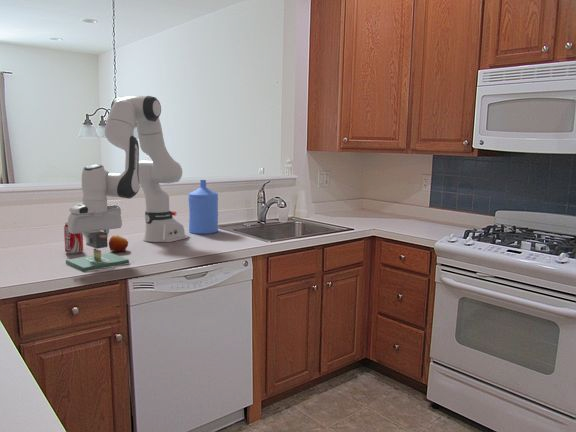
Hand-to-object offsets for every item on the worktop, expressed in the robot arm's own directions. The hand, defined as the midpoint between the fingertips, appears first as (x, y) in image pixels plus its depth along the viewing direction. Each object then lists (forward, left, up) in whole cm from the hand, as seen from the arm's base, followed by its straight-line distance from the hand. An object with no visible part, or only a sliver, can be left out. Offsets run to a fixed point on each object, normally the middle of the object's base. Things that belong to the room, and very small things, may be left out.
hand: (96, 242), depth 182 cm
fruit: (-16, -14, -9) cm, 23 cm away
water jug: (-71, -26, -9) cm, 76 cm away
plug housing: (0, +2, -2) cm, 2 cm away
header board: (0, 0, -9) cm, 9 cm away
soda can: (-1, -24, -9) cm, 26 cm away
